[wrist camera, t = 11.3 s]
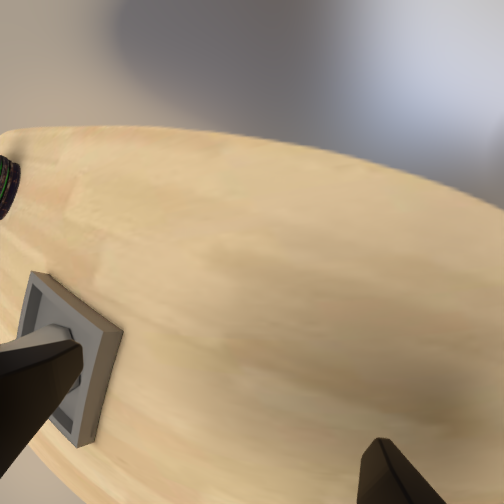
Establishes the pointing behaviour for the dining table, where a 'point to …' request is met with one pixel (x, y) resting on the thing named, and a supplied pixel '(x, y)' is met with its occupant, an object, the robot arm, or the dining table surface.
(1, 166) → the storage jar
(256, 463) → the dining table surface
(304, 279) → the dining table surface
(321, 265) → the dining table surface
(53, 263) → the dining table surface
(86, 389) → the tray
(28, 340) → the flask
